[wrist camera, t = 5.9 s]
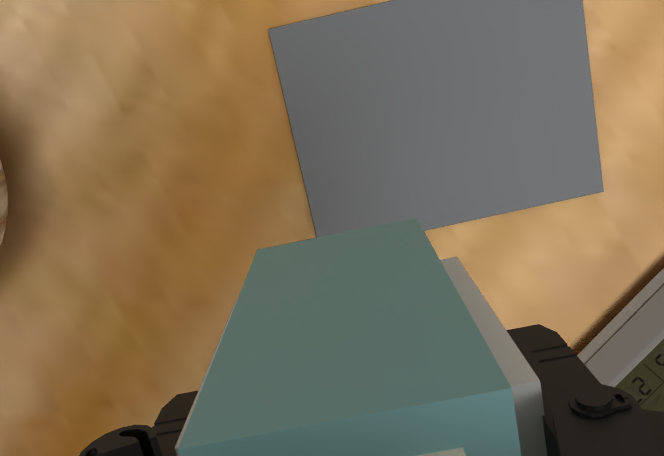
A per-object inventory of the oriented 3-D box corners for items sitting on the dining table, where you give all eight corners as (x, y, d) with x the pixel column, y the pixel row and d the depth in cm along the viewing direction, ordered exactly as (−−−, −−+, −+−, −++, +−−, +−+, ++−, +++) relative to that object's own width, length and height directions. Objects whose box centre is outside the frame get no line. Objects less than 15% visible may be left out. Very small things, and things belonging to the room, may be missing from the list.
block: (292, 390, 18) (255, 709, 9) (257, 249, 17) (174, 456, 8) (441, 362, 18) (552, 661, 9) (416, 217, 16) (515, 394, 8)
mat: (320, 251, 36) (320, 253, 36) (268, 29, 33) (268, 29, 32) (600, 190, 35) (603, 191, 35) (574, -41, 32) (577, -43, 32)
